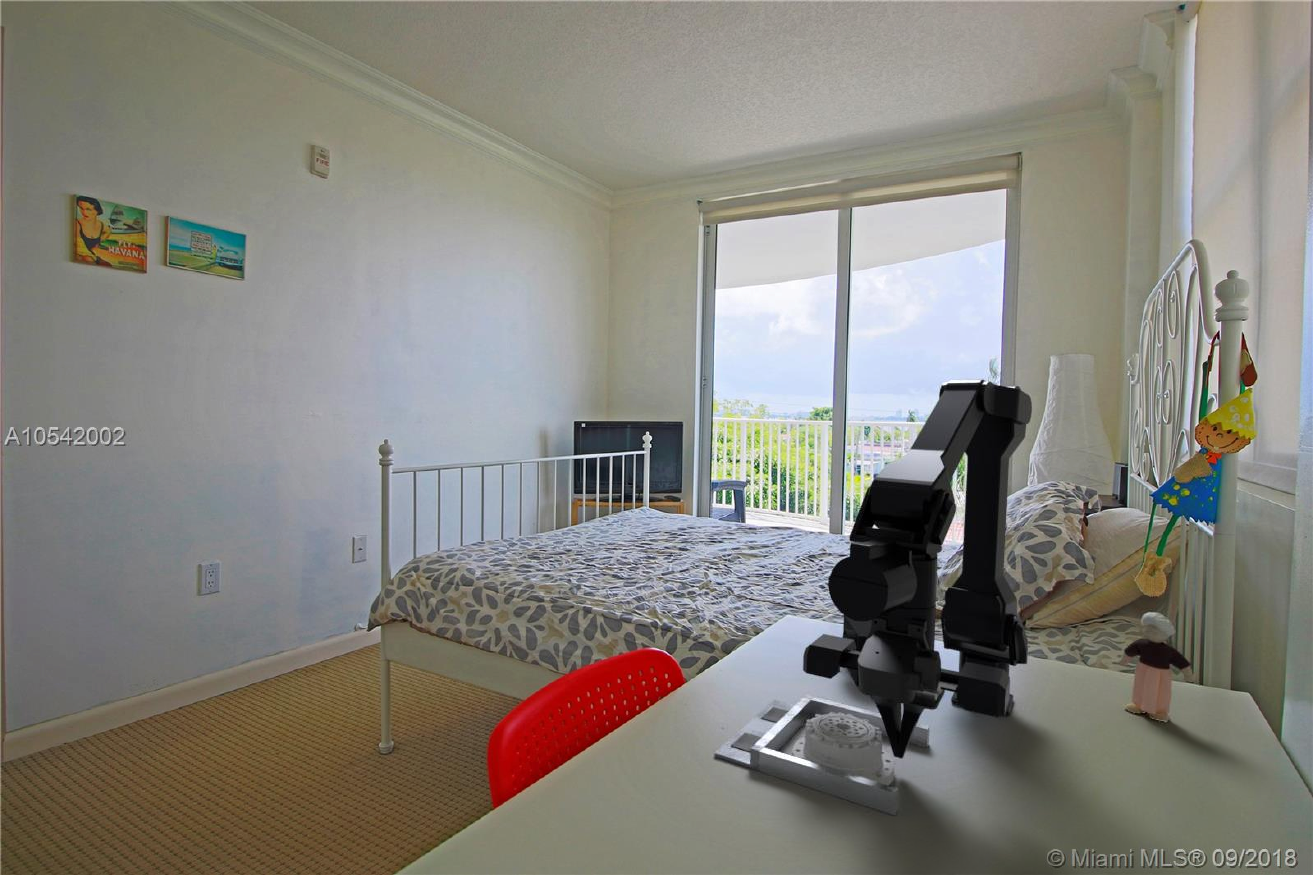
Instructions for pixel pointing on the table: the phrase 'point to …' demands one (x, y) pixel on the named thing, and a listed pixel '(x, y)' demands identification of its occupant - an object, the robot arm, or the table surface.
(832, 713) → the mechanical component
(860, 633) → the digital camera
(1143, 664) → the grandmother figurine
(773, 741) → the u-shaped metal bracket
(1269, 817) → the table surface
